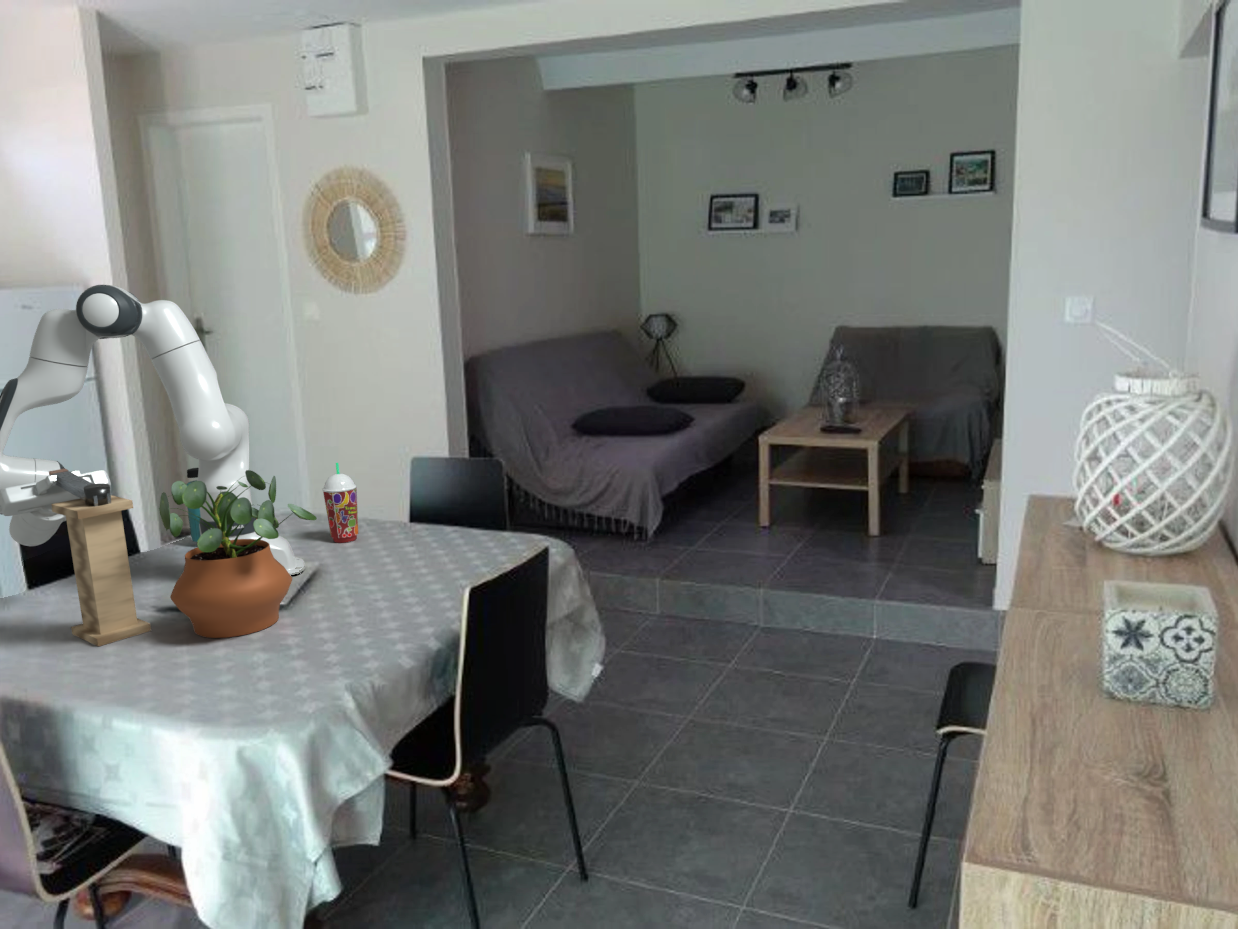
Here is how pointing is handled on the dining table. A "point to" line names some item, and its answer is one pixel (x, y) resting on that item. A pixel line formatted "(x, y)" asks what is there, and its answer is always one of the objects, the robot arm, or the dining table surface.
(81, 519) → the stand
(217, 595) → the potted plant
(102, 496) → the grey rod with knob
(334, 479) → the smoothie
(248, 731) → the dining table surface
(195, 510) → the beverage bottle
